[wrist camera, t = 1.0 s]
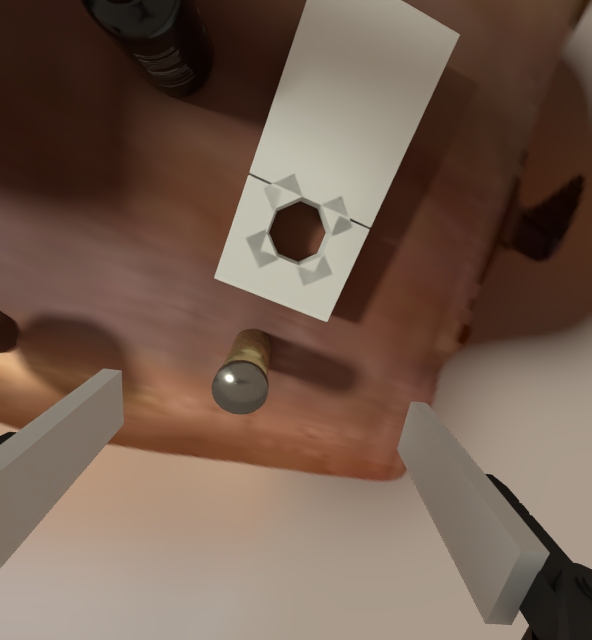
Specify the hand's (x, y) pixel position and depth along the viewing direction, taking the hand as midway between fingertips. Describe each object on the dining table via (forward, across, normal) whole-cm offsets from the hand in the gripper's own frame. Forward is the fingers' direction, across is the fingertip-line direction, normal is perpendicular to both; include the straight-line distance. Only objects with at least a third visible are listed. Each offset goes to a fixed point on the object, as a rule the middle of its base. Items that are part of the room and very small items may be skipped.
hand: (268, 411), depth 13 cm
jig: (+21, +2, +14) cm, 25 cm away
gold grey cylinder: (+21, -2, -6) cm, 22 cm away
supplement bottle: (+21, -12, +22) cm, 32 cm away
